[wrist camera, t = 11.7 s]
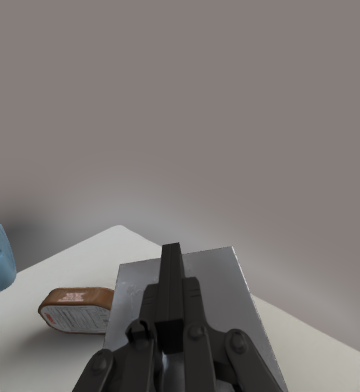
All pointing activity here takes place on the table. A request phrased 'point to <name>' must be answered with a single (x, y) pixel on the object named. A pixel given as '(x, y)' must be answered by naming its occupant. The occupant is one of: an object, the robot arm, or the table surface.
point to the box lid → (212, 301)
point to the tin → (78, 309)
